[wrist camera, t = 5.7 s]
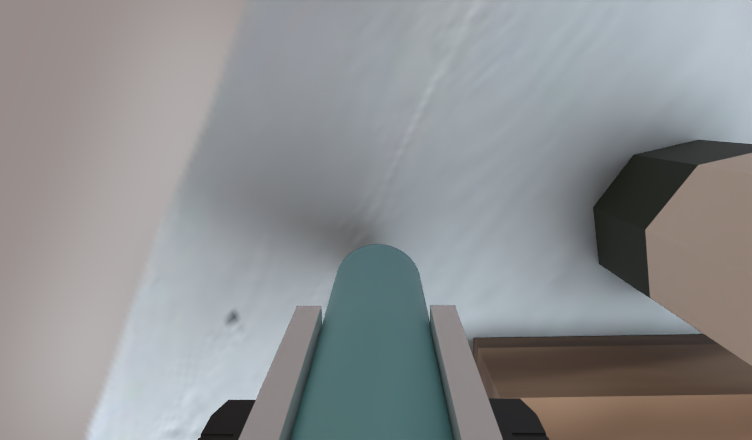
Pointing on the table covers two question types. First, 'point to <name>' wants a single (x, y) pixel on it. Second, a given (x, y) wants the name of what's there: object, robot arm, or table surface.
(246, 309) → the table surface
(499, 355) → the bore block
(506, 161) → the table surface
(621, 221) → the wine bottle
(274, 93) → the table surface
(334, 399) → the pin
